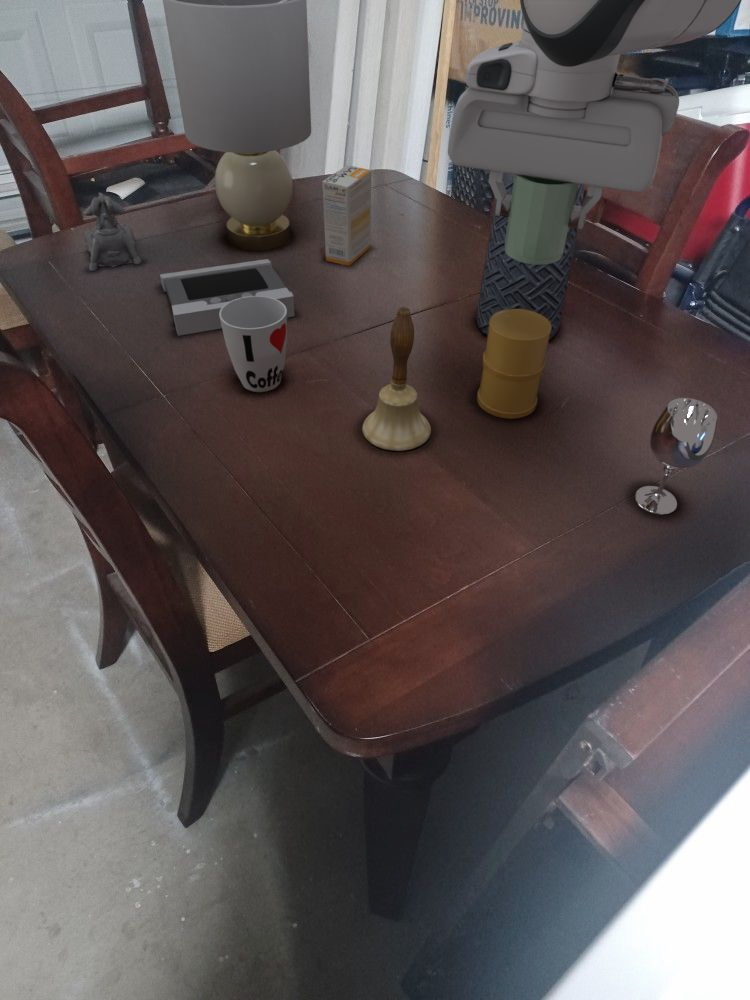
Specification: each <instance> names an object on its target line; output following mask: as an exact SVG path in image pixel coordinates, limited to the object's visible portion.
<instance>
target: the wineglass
mask: <svg viewBox="0 0 750 1000" xmlns="http://www.w3.org/2000/svg"><path fill="white" fill-rule="evenodd" d="M717 422H718V414H717V412H716V411H715V409H714V408H713V407H712V406H710V405H709V404H708V403H705V402H703V401H701V400H699V399H695V398H690V397H679V398H675V399H672V400H671V401H669V402H668V404H667V405H666V406H665V407H664V409H663V410H662V412H661V413H660V415H658V418H657V419H656V421H655V423H654V425H653V427H652V429H651V432H650V437H649V448H650V451H651V453H652V456H653V457H654V458H655V459H656V460H657V461H658V462H659V463H660V464H662V465H664V466H663V468H662V472H663V473H662V476H661V477H662V478H661V481H660V483H659V484H658V486H656V485H644V486H641V487H640V488H638V489H637V490H636V492H635V493H634V499H635V502H636V503H637V505H638V506H639V507H640V508H642V509H643V510H644V511H646V512H648V513H651V514H655V515H660V516H662V515H663V516H664V515H669V514H671V513H673V512H675V511H676V509H677V508H678V501H677V498H676V497H675V496H674V495H673V494H672V492H671V491H669V490H668V489H665V488H664V487H665V485H666V482H667V481H668V479H669V478H670V476H671V475H672V474H673V472H674V471H675V469H677V470H678V469H679V470H686V469H689V468H693V467H695V466H697V465H699V464H701V462H703V461H704V459H705V458H706V457H707V456H708V454H709V452H710V450H711V449H712V446H713V443H714V440H715V435H716V430H717V424H718V423H717Z"/></svg>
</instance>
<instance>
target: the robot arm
mask: <svg viewBox="0 0 750 1000" xmlns="http://www.w3.org/2000/svg"><path fill="white" fill-rule="evenodd" d="M742 1H743V0H519V4H520V10H521V14H522V18H523V24H522V29H521V30H522V32H521V38H520V39H519V40H515V41H512V42H508V43H504V44H500V45H496V46H492V47H489V48H486V49H484V50H483V51H481V52H480V53H478V54H476V55H475V56H474V57H473V58H472V59H471V60H470V61H469V63H468V64H467V66H466V70H465V84H466V86H467V88H466V89H465V90H464V91H463V92H462V93H461V94H460V96H459V97H458V99H457V102H456V104H455V107H454V110H453V114H452V119H451V120H452V121H451V125H450V130H449V136H448V143H447V156H448V157H449V159H450V161H451V162H452V164H453V165H454V166H457V167H463V168H470V169H476V170H482V171H483V170H484V171H489V176H488V184H489V185H490V188H491V190H492V193H493V196H494V199H497V204H496V211H495V215H497V216H504V217H509V211H510V205H511V197H512V195H508V194H507V192H506V189H505V186H504V183H503V180H504V178H505V177H506V175H507V173H509V174H516V175H523V176H530V177H536V178H543V179H550V180H557V181H563V182H570V183H577V184H584V186H588V187H587V192H586V196H587V197H588V198H587V199H586V201H585V202H583V203H582V206H578V205H574V207H573V209H572V211H571V215H570V221H569V224H568V227H570V228H576V229H578V230H583V228H584V226H585V224H586V220H587V216H588V214H589V212H590V211H591V210H592V209H593V207H595V205H596V204H598V202H600V200H601V198H602V196H603V193H604V190H605V189H611V190H618V191H626V192H632V193H642V192H645V191H646V190H648V188H649V187H651V186H652V185H653V183H654V181H655V177H656V173H657V168H658V164H659V159H660V155H661V149H662V142H663V136H664V135H666V134H667V133H668V132H669V131H670V130H671V129H672V127H673V125H674V123H675V120H676V117H677V113H678V111H679V107H680V97H679V94H678V92H677V90H676V89H675V88H674V87H673V86H672V85H670V84H668V81H667V79H663V78H660V77H652V78H647V77H642V76H641V77H640V76H637V75H632V74H624V73H618V72H617V70H618V66H619V61H620V57H621V55H622V54H627V53H628V54H629V53H633V52H640V51H646V50H653V49H656V48H659V47H666V46H673V45H677V44H683V43H687V42H690V41H694V40H696V39H698V38H701V37H703V36H707V35H709V34H711V33H713V32H715V31H717V30H718V29H719V28H720V27H722V26H723V25H724V24H725V23H726V22H727V21H728V20H729V19H730V18H731V16H733V14H734V13H735V11H736V10H737V9H738V7H739V6H740V4H741V2H742ZM665 91H667V92H666V93H665ZM668 92H669V93H668Z"/></svg>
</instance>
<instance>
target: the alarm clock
mask: <svg viewBox="0 0 750 1000" xmlns="http://www.w3.org/2000/svg"><path fill="white" fill-rule="evenodd" d="M159 277H160V280H161V281H160V282H161V286H162V289H163V292H164V293H166V294H167V297H168V299H169V302H170V305H171V306H170V307H171V309H172V311H171V312H172V315H173V321H174V324H175V325H174V326H175V330H176V334H177V336H178V337H179V336H184V335H191V334H196V333H203V332H208V331H209V332H210V331H216V330H221V329H222V325H221V321H220V316H219V312H220V310H221V308H222V307H223V306H224V305H225V304H227V303H228V302H230V301H232V300H235V299H238V298H242V297H247V296H266V297H271V298H274V299H277V300H279V301H280V302H282V303H283V304H284V305H285V307H286V309H287V318H292V317H296V316H295V298H294V294H293V292H292V291H290V290H289V289H288V287H286V285H284V283H283V281H282V279H281V277H280V275H279V274H278V273H277V272H276V270H275V268H273V266H272V262H271V260H269V259H268V258H267V259H266V258H265V259H258V260H252V261H244V262H238V263H232V264H231V263H230V264H223V265H216V266H210V267H202V268H195V269H187V270H182V271H175V272H167V273H161V274H159Z"/></svg>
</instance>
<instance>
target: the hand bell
mask: <svg viewBox="0 0 750 1000" xmlns="http://www.w3.org/2000/svg"><path fill="white" fill-rule="evenodd" d="M389 335H390V337H389V338H390V339H389V340H390V341H389V342H390V350H391V355H392V358H393V364H392V375H391V383H389V384H386V385H385V386H383V387H381V389H380V390H379V394H378V399H377V404H376V406H375V409H374V411H372V412H371V413H369V414H368V416H367V417H366V418H365V420H364V421H363V423H362V429H361V430H362V434H363V436H364V438H365V439H366V440H367V441H368V442H369V443H370V444H372V445H374V446H375V447H377V448H380V449H383V450H387V451H395V452H403V451H404V452H405V451H410V450H413V449H416V448H418V447H420V446H422V445H424V444H425V443H426V442H427V441H428V440H429V439H430V436H431V434H432V428H431V427H432V426H431V424H430V423H429V421H428V419H427V418H426V417H425V416H424V415H423V414H422V413H421V412H420V408H419V402H418V401H419V399H418V393H417V391H416V389H415V388H414V387H412V386H411V385H409V384H407V381H408V377H407V376H408V360H409V357H410V355H411V353H412V350H413V345H414V341H415V326H414V322H413V319H412V314H411V309H410V308H409V307H405V306H402V307H401V306H400V307H399V308H398V309H397V313H396V315H395V318H394V320H393V322H392V325H391V330H390V334H389Z"/></svg>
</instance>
